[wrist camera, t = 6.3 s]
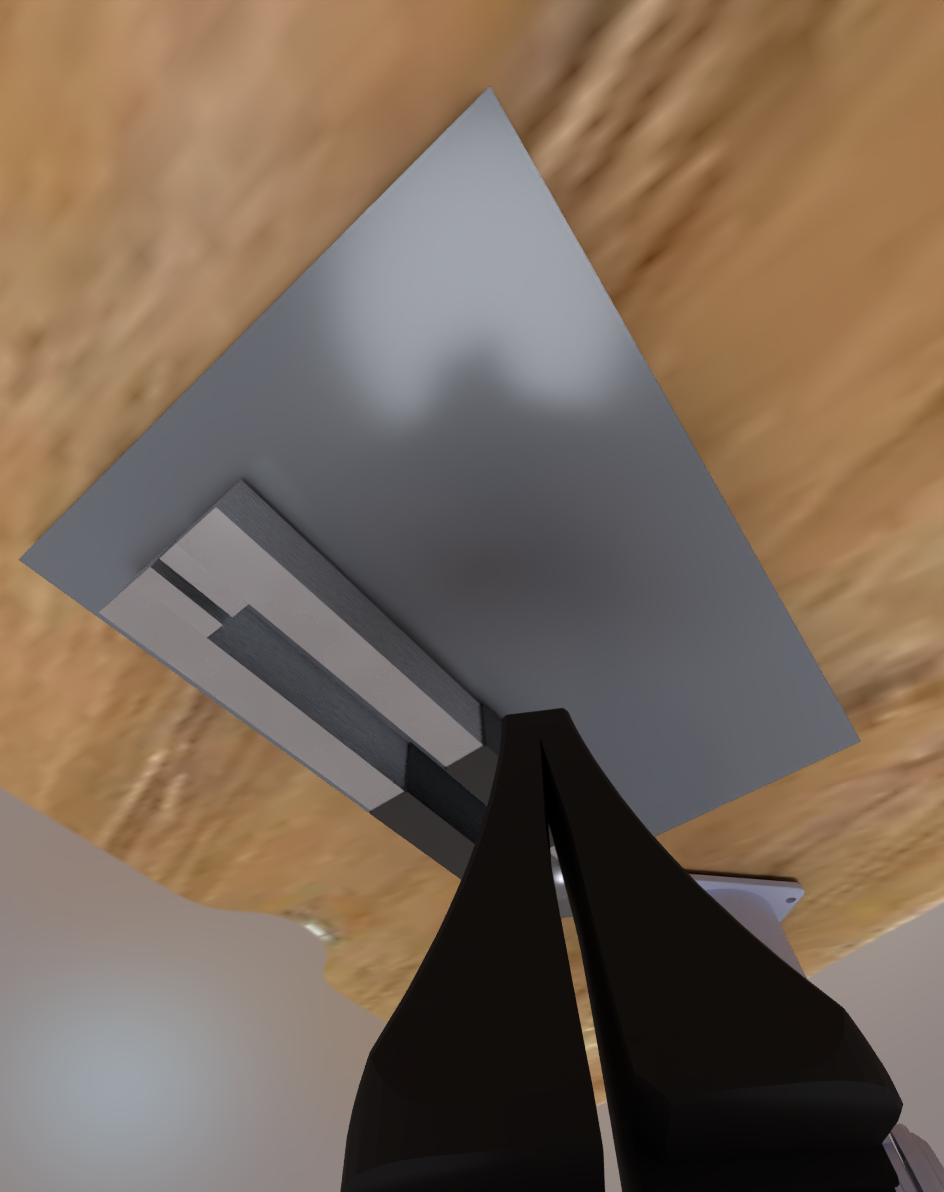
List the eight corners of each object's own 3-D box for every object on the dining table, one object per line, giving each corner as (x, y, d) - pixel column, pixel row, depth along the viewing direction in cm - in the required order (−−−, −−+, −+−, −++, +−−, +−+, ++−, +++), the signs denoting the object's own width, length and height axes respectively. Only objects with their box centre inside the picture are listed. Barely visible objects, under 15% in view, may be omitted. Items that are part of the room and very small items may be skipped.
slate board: (846, 723, 23) (860, 741, 23) (499, 888, 29) (500, 907, 28) (487, 97, 13) (490, 86, 12) (38, 545, 18) (18, 559, 17)
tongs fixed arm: (513, 811, 24) (519, 863, 22) (469, 834, 25) (471, 886, 23) (185, 529, 17) (149, 567, 15) (136, 573, 18) (95, 615, 16)
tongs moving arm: (631, 843, 25) (645, 888, 23) (547, 883, 27) (553, 928, 25) (244, 476, 16) (217, 505, 14) (144, 568, 17) (108, 604, 15)
